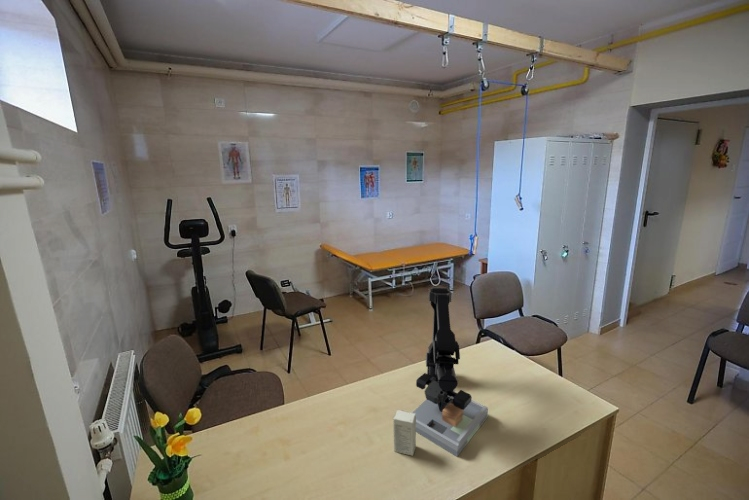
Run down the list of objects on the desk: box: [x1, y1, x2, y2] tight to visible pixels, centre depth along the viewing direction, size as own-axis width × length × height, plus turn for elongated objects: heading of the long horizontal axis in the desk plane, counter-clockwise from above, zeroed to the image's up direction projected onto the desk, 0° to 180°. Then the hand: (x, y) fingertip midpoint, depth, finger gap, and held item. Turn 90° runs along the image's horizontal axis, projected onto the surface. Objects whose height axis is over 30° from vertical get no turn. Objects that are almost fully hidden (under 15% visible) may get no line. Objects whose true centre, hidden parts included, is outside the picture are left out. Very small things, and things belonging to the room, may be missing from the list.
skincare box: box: [392, 409, 417, 457], centre depth 107 cm, size 6×4×12 cm
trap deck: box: [411, 398, 489, 457], centre depth 119 cm, size 20×22×5 cm
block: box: [442, 403, 463, 427], centre depth 117 cm, size 5×5×4 cm
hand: (441, 411), depth 120 cm, fingers closed
